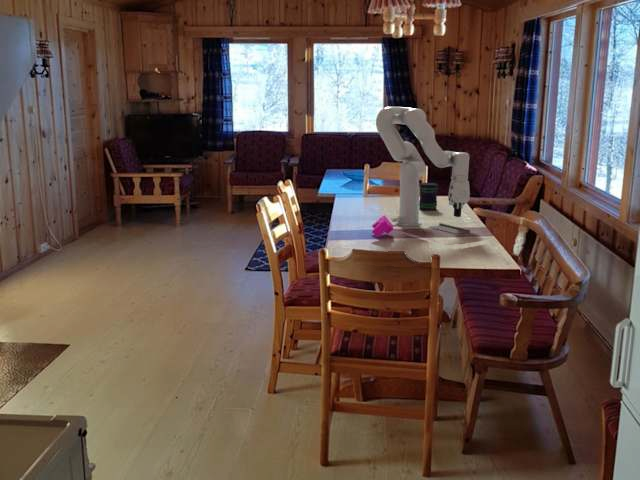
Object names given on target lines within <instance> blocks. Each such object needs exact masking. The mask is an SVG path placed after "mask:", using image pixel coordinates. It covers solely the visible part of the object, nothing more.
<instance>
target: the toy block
mask: <svg viewBox="0 0 640 480" xmlns="http://www.w3.org/2000/svg"><path fill="white" fill-rule="evenodd" d="M371 228H373V229H372V230H371V232H372V234H373V235H374V236H375V237H376V238H379V237H380V236H381V235H383V234H384V233H386V234H387V235H388V234H390V233H391V232H392V231H393V230H394V225H393V222H392V221H390V220H389V219H388V217H387V216H386V215H385V214H383V215H382V216H381V217H380V218H379V219H378V220H376V221H375V222H374V223H373V224H372V225H371Z"/></svg>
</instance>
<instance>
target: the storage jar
mask: <svg viewBox="0 0 640 480" xmlns="http://www.w3.org/2000/svg"><path fill="white" fill-rule="evenodd" d="M438 186H439V185H438V183H435V182H419V210H421V211H425V212H426V211H427V212H435V211H437V206H438V204H437V203H438V200H437V199H438V198H437V196H438Z"/></svg>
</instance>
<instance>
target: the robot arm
mask: <svg viewBox="0 0 640 480" xmlns="http://www.w3.org/2000/svg"><path fill="white" fill-rule="evenodd" d="M375 120H376V121H375V126H376V130H377V132H378V134H379V136H380V138H381V139H382V141H383V142H384V144H385V146H386V148H387V151H388V152H389V154H390V155H391V157H392V158H393V160H394V161H396V162H402V163H403V164H402V165H400V166H399V171H398V173H399V174H398V175H399V210H398V212H399V214H398V215H397V217H392V218H390V219H391V223H395V224H396V225H397V226H398V225H399V226H403V227H416V226H421V225H422V222H421V221H420V220H419V212H420V211H419V210H420V209H419V200H420V180H419V179H421V178H423V177H424V176H425V175H426V172H427V167H426V166H427V165H426V163H425V161H424V160H423V158H422V156H421V154H420V153H419V151H418V149H417V147H415V145H414V144H413V143H412V142H410V141H406V140H405V141H404V140H403V138H402V136H401V135H400V133H399V131H398V130H397V129H396V127H395V126H394V125H396V124H397V125H406V126H407V128H409V130H410V131H411V132H412V133H413V135H414V136H415V137H416V139H417V140H418V141H419V142H420V146H421V147H422V150H423V152H424V154H425V155H426V156H427V157H428V160H430V162H431V163H432V164H434V166H436V167H437V168H439V169H443V168H447V167H452V168H451V177H450V179H451V181H450V184H449V188H448V199H447V200H448V205H450V206H452V208H453V216H454V217H456V218H461V217H462V209H463V208H464V205H466V204H468V202H469V201H470V195H471V192H470V181H469V180H468V179H469V170H470V169H469V165H470V154H469V153H468V152H463V151H458V152H457V151H451V150H443V149H442V147H441V146H439V144H438V142H437V141H436V140H437V139H436V132H435V129H434V128H433V127H432V126H431V125H430V123H429V122H428V120H427V115H426V113H425V111H424V110H423V109H421V108H412V107H403V106H386V107H383V108H382V109H381V110H380V111H379V112H378V113H377V115H376V119H375Z"/></svg>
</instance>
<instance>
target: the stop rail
mask: <svg viewBox="0 0 640 480" xmlns="http://www.w3.org/2000/svg"><path fill="white" fill-rule="evenodd" d="M439 225H440V226H444V227H448V228H453V229H457V230H461V231H465V232H466V233H468V234H470V233H471V229H468V228H463V227H460V226H454V225H451V224H446V223H443V222H439V224H438V226H439Z"/></svg>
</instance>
